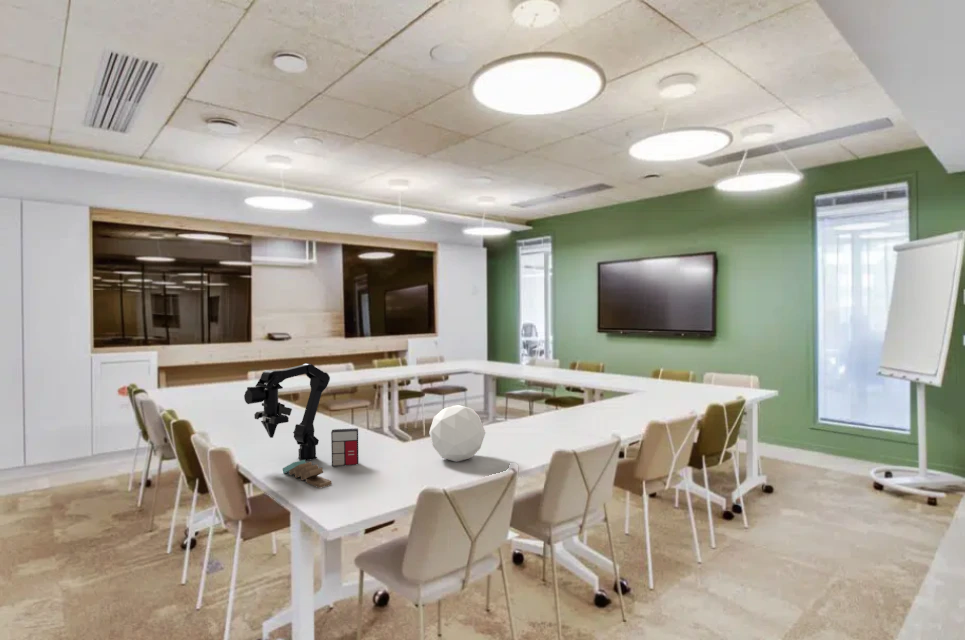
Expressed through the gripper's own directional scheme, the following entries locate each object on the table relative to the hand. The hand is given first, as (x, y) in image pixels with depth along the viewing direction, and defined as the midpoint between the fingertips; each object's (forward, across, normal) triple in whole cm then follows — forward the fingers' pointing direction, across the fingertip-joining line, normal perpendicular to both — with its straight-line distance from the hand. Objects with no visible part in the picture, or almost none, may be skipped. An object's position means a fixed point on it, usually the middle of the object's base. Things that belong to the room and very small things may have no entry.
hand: (271, 437), depth 222 cm
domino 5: (+13, -28, -2) cm, 31 cm away
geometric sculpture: (+13, -50, -60) cm, 80 cm away
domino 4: (+12, -25, -2) cm, 27 cm away
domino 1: (+12, -10, -2) cm, 16 cm away
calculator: (+13, -19, -23) cm, 33 cm away
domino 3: (+12, -19, -2) cm, 23 cm away
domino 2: (+12, -15, -2) cm, 19 cm away
